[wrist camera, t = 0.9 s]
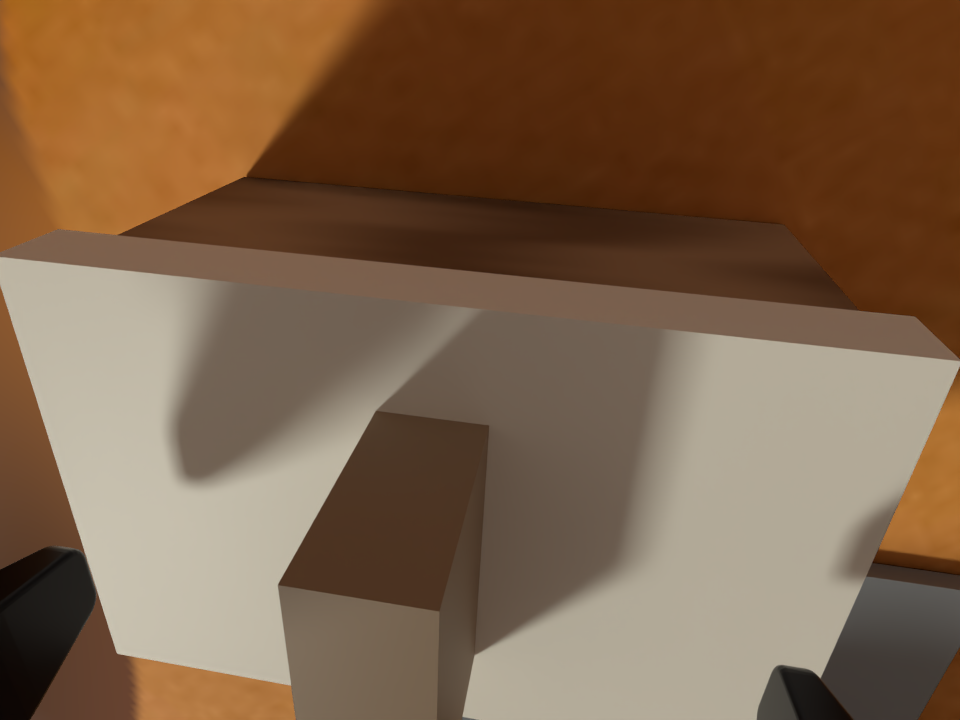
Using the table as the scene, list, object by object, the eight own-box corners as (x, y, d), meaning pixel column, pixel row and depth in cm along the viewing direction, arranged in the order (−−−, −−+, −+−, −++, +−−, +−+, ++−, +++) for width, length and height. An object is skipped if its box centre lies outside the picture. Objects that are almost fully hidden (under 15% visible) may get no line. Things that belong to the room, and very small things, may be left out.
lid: (884, 286, 9) (1175, 565, 4) (750, 658, 13) (835, 1022, 8) (103, 210, 10) (-283, 365, 6) (184, 565, 14) (-18, 832, 9)
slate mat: (858, 793, 20) (864, 811, 19) (438, 716, 21) (434, 731, 21) (979, 578, 16) (989, 594, 15) (444, 501, 17) (439, 513, 17)
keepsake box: (784, 224, 13) (880, 336, 8) (707, 506, 16) (748, 692, 12) (243, 176, 14) (82, 250, 10) (276, 447, 17) (167, 593, 13)
